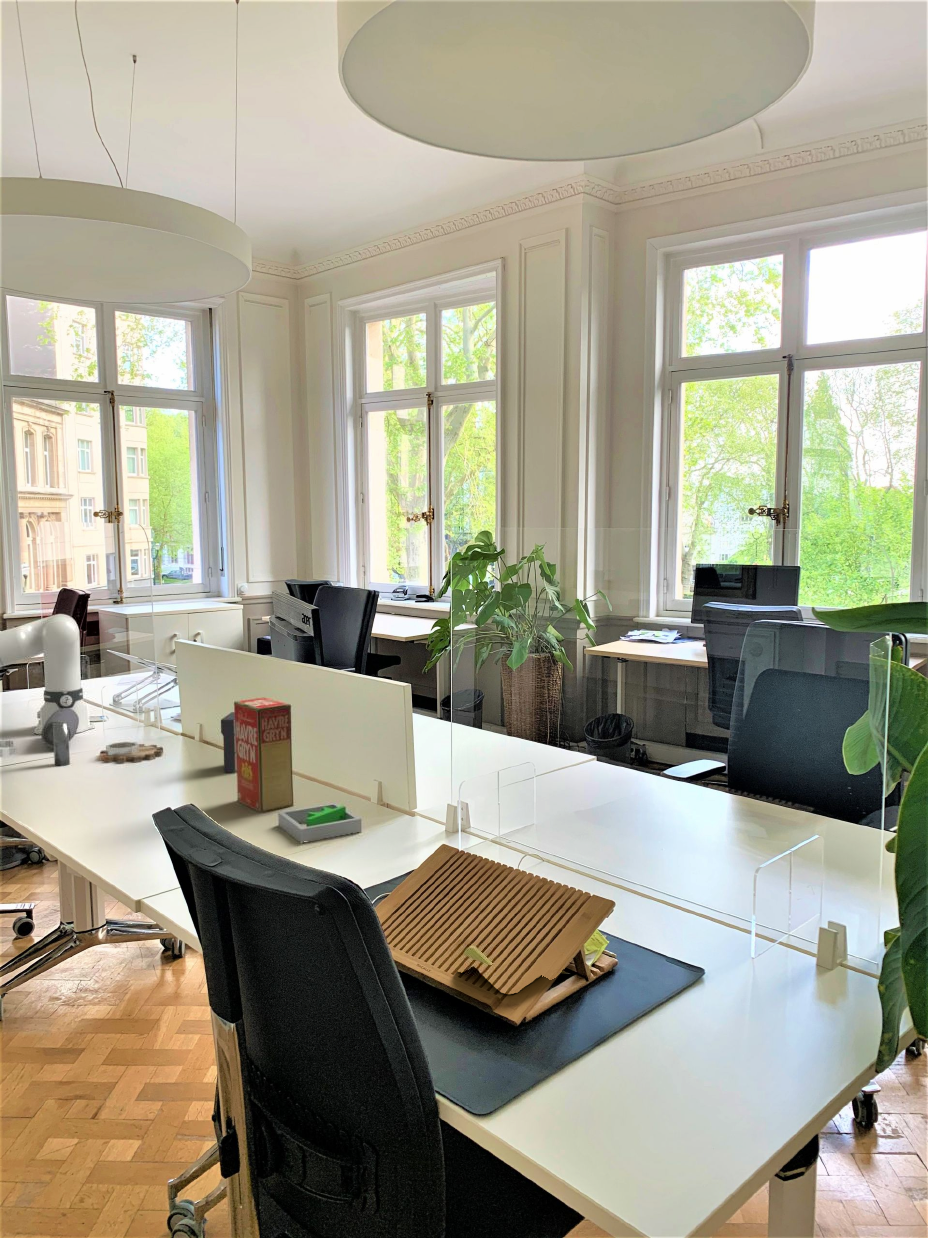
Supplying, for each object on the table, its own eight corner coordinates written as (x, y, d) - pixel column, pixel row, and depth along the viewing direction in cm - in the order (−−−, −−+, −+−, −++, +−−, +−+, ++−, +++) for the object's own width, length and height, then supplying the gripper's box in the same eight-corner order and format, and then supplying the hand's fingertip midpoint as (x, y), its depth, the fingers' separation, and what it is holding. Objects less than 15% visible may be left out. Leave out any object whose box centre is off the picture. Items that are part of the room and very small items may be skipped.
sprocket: (94, 753, 269) (94, 742, 269) (155, 746, 278) (155, 735, 278) (105, 766, 254) (104, 754, 254) (169, 758, 263) (169, 746, 263)
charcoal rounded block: (237, 773, 246) (236, 719, 245) (221, 773, 247) (220, 719, 245) (247, 763, 257) (246, 711, 256) (232, 763, 257) (231, 711, 256)
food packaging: (234, 800, 220) (232, 700, 218) (269, 793, 227) (267, 696, 224) (260, 813, 210) (257, 708, 208) (295, 805, 216) (293, 703, 214)
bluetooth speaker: (50, 737, 291) (49, 707, 291) (81, 735, 294) (80, 705, 293) (39, 753, 270) (38, 720, 269) (73, 751, 273) (71, 718, 272)
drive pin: (53, 763, 257) (52, 722, 256) (68, 762, 259) (67, 721, 258) (55, 766, 253) (53, 725, 252) (70, 765, 256) (69, 723, 254)
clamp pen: (278, 825, 202) (278, 812, 201) (336, 815, 209) (336, 802, 209) (301, 843, 190) (301, 829, 189) (361, 832, 197) (361, 818, 197)
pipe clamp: (333, 823, 204) (333, 803, 203) (346, 826, 202) (345, 806, 201) (298, 836, 195) (297, 815, 194) (310, 839, 193) (310, 818, 192)
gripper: (-43, 756, 251) (11, 750, 258) (-40, 772, 234) (18, 765, 241) (-45, 734, 251) (10, 728, 258) (-42, 748, 233) (17, 742, 241)
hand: (14, 746), depth 249 cm, fingers open, 8 cm apart
